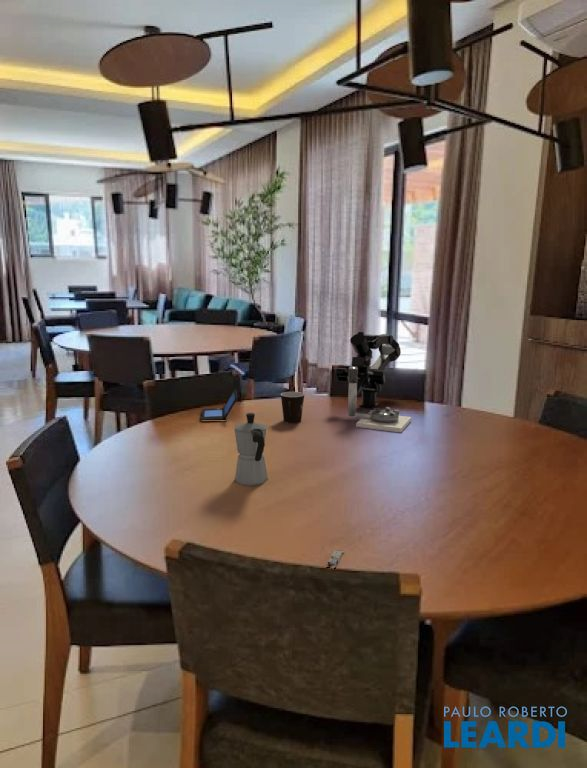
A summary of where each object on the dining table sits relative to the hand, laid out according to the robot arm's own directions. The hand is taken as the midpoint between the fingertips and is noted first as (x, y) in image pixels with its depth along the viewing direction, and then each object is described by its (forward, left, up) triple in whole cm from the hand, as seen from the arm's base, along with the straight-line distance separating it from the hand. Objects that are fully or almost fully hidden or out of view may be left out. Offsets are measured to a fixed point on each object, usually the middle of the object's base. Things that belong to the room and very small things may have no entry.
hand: (355, 394), depth 202 cm
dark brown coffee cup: (+17, -19, -9) cm, 27 cm away
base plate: (+5, +12, -9) cm, 16 cm away
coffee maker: (+73, -4, -9) cm, 74 cm away
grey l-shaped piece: (+5, +8, -7) cm, 12 cm away
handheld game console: (+21, -47, -9) cm, 52 cm away
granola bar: (+101, +29, -9) cm, 105 cm away
